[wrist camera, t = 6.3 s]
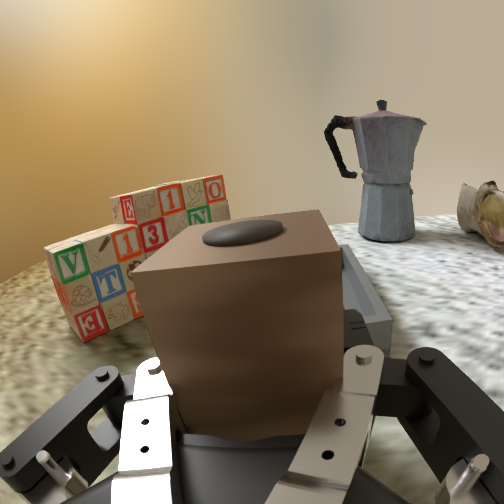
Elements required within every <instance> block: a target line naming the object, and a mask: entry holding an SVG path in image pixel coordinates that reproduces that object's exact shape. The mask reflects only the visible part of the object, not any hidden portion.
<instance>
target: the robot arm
mask: <svg viewBox="0 0 504 504" xmlns="http://www.w3.org/2000/svg"><path fill="white" fill-rule="evenodd" d="M343 317H344V367H343V377H338V378H336V379H335V381H334V384H333V387H332V389H331V390H329V389H327V390H326V391H325V392H324V395H323V397H322V399H321V402H320V404H319V406H318V408H317V411H316V413H315V415H314V417H313V420H312V422H311V424H310V426H309V428H308V431H307V433H306V434H301V435H285V436H274V437H269V438H265V439H260V440H255V441H250V442H244V443H240V442H235V441H231V440H227V439H223V438H219V437H215V436H210V435H194V434H193V432H192V430H191V428H190V426H186V425H185V423H184V421H183V419H182V416H181V414H180V412H179V410H178V407H177V395H176V392H175V390H174V387H173V385H172V384H168V383H167V381H166V378H165V375H164V373H163V370H162V368H161V365H160V362H159V360H158V357H157V358H152V359H149V360H146V361H145V362H143V363H142V364H141V365H140V366H139V367H138V369H137V373H134V374H128V375H120V373H119V371H118V369H117V368H116V367H114V366H102V367H99V368H97V369H95V370H94V371H92V372H91V373H90V374H89V375H88V376H86V377H85V378H84V379H83V380H82V381H81V382H80V383H78V384H77V385H76V386H75V387H74V388H73V389H72V390H70V391H69V392H68V393H67V394H66V395H65V396H64V397H62V398H61V399H60V400H59V401H58V402H57V403H56V404H54V405H53V406H52V407H51V408H50V409H49V410H48V411H47V412H45V413H44V414H43V415H42V416H41V417H40V418H39V419H37V420H36V421H35V422H34V423H33V424H32V425H31V426H30V427H28V428H27V429H26V430H25V431H24V432H23V433H22V434H21V435H20V436H18V437H17V438H16V439H15V440H14V441H13V442H12V443H11V444H9V445H8V446H7V447H6V448H5V449H4V450H3V451H2V452H1V453H0V477H1V478H2V479H3V480H4V481H5V482H6V483H7V484H8V485H9V486H10V487H11V489H12V490H13V491H14V492H15V493H16V494H18V495H19V496H20V497H21V498H22V499H23V500H24V501H25V502H27V503H28V504H410V503H409V502H407V501H406V500H404V499H403V498H402V497H400V496H399V495H397V494H396V493H395V492H393V491H392V490H390V489H389V488H388V487H386V486H385V485H384V484H382V483H381V482H380V481H378V480H377V479H376V478H374V477H373V476H372V475H370V474H369V473H368V472H366V471H365V470H364V469H362V468H363V465H364V461H365V457H366V453H367V449H368V445H369V442H370V438H371V434H372V430H373V426H374V422H375V418H376V416H388V417H397V419H398V421H399V422H400V424H401V425H402V427H403V428H404V429H405V431H406V432H407V434H408V435H409V437H410V438H411V440H412V441H413V443H414V444H415V446H416V447H417V449H418V450H419V452H420V453H421V455H422V456H423V458H424V459H425V461H426V462H427V464H428V465H429V467H430V468H431V470H432V471H433V473H434V474H435V476H436V477H437V479H438V480H439V482H440V483H441V484H440V486H439V487H438V489H437V491H436V494H435V503H436V504H504V411H503V410H502V409H501V408H500V407H499V406H498V405H497V404H496V403H495V402H494V401H493V400H492V399H490V398H489V397H488V396H487V395H486V394H485V393H484V392H483V391H482V390H481V389H480V388H479V387H478V386H477V385H476V384H475V383H474V382H473V381H472V380H471V379H470V378H469V377H468V376H467V375H466V374H465V373H464V372H462V371H461V370H460V369H459V368H458V367H457V366H456V365H455V364H454V363H453V362H452V361H451V360H450V359H449V358H447V357H446V356H445V355H444V354H443V353H442V352H441V351H439V350H437V349H435V348H430V347H422V348H417V349H415V350H413V351H412V352H410V353H409V355H408V357H407V360H404V359H391V358H387V357H384V354H383V352H382V351H381V350H380V349H379V348H377V347H375V346H374V344H373V341H372V338H371V336H370V333H369V331H368V328H367V326H366V323H365V321H364V318H363V316H362V314H361V313H360V312H358V311H357V310H356V309H348V310H345V308H344V305H343ZM101 408H103V410H104V412H105V413H106V415H107V417H106V418H105V420H104V421H103V422H102V423H101V424H100V425H99V426H98V427H97V428H96V429H95V430H94V431H93V432H92V433H91V434H90V433H89V432H88V429H87V424H88V421H89V420H90V419H91V418H92V417H93V416H94V415H95V414H96V413H97V412H98V411H99V410H100V409H101ZM119 452H120V460H119V471H118V472H116V473H114V474H113V475H111V476H109V477H107V478H106V479H104V480H102V481H100V482H99V483H97V484H95V485H93V486H91V487H90V485H91V484H92V483H93V482H94V481H95V480H96V479H97V477H98V476H99V475H100V474H101V473H102V472H103V470H104V469H105V468H106V467H107V466H108V465H109V464H110V462H111V461H112V460H113V459H114V458H115V457H116V455H117V454H118V453H119ZM89 487H90V488H89Z"/></svg>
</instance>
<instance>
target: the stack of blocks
mask: <svg viewBox="0 0 504 504" xmlns="http://www.w3.org/2000/svg"><path fill="white" fill-rule="evenodd" d="M109 199H110V204H111V209H112V214H113V219H114V224H112V225H109V226H106V227H103V228H100V229H97V230H94V231H90V232H87V233H84V234H81V235H78V236H75V237H72V238H69V239H67V240H64V241H61V242H58V243H55V244H52V245H49V246H47V247H44V251H45V254H46V258H47V262H48V266H49V269H50V272H51V276H52V279H53V283H54V286H55V289H56V292H57V294H58V297H59V300H60V302H61V305H62V307H63V310H64V313H65V315H66V318H67V320H68V323H69V325H70V326H71V327H72V329H73V330H74V331H75V332H76V334H77V336H78V337H79V338H80V339H81V340H82V341H83V342H87V341H89V340H91V339H93V338H95V337H97V336H99V335H101V334H103V333H105V332H107V331H109V330H113V329H115V328H117V327H119V326H122V325H124V324H126V323H128V322H130V321H132V320H133V319H136V318H138V317H141V316H143V313H142V310H141V307H140V304H139V300H138V297H137V294H136V290H135V287H134V284H133V280H132V277H131V272H132V271H133V270H134V269H135V268H137V267H138V266H139V265H140V264H141V263H143V262H144V261H145V260H146V259H148V258H149V257H150V256H151V255H153V254H154V253H155V252H156V251H158V250H159V249H160V248H161V247H163V246H164V245H165V244H166V243H168V242H169V241H170V240H171V239H173V238H174V237H175V236H177V235H178V234H179V233H180V232H182V231H183V230H184V229H186V228H187V227H188V226H191V225H198V224H205V223H212V222H220V221H227V220H231V219H230V212H229V206H228V200H227V199H226V194H225V187H224V180H223V175H215V176H208V177H202V178H196V179H191V180H180V181H175V182H170V183H164V184H160V185H155V186H154V187H151V188H147V189H143V190H139V191H135V192H131V193H127V194H123V195H119V196H115V197H111V198H109Z"/></svg>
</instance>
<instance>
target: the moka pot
mask: <svg viewBox="0 0 504 504" xmlns="http://www.w3.org/2000/svg"><path fill="white" fill-rule="evenodd" d="M377 106H378V109H379V111H377V112H374V113H370V114H367V115H364V116H360V117H342V116H334V118H333V119H332V120H331V123H329V124H328V126H327V128H326V129H325V131H324V134H325V139H326V141H327V143H328V144H329V147H330V149H331V151H332V153H333V156H334V159H335V161H336V163H337V166H338V168H339V171H340V173H341V176H342V177H345V178H356V177H357V173H356V172H349V171H347V169H346V166H345V164H344V163H343V161H342V156H341V153H340V151H339V148H338V146H337V142H336V140H335V137H334V136H333V131H334V129H335V128H337V127H339V128H343V129H352V130H353V133H354V137H355V143H356V147H357V152H358V158H359V164H360V168H362V170H363V171H364V173H362V178H363V181H364V185H363V192H362V202H361V211H360V219H359V227H358V233H359V234H360V235H361V236H363V237H366V238H369V239H372V240H378V241H404V240H408V239H411V238H412V237H413V236H414V233H415V224H414V213H413V203H412V194H413V190H412V189H411V187H410V184H409V183H410V181H411V174H410V172H411V170H412V169H413V162H414V151H415V148H416V146H417V143H418V140H419V137H420V134H421V131H422V129H423V126H424V125H426V122H424V121H423V120H421V119H420V118H415V117H409V116H404V115H400V114H396V113H392V112H388V111H386V106H387V102H386V101H384V100H379V101H377Z"/></svg>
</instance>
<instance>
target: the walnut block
mask: <svg viewBox="0 0 504 504" xmlns="http://www.w3.org/2000/svg"><path fill="white" fill-rule="evenodd" d="M131 277H132V280H133V284H134V287H135V290H136V294H137V297H138V300H139V304H140V307H141V310H142V313H143V316H144V319H145V322H146V326H147V328H148V331H149V334H150V337H151V340H152V343H153V346H154V349H155V351H156V354H157V357H158V360H159V362H160V365H161V368H162V370H163V373H164V375H165V378H166V381H167V383H168V384H172V385H173V387H174V390H175V392H176V395H177V407H178V410H179V412H180V414H181V416H182V419H183V421H184V423H185V425H186V426H190V428H191V430H192V432H193V434H194V435H210V436H215V437H219V438H223V439H227V440H231V441H235V442H240V443H244V442H250V441H255V440H260V439H265V438H269V437H274V436H285V435H301V434H306V433H307V431H308V428H309V426H310V424H311V422H312V420H313V417H314V415H315V413H316V411H317V408H318V406H319V404H320V402H321V399H322V397H323V395H324V392H325V391H326V390H327V389H329V390H331V389H332V387H333V384H334V381H335V379H336V378H338V377H343V367H344V317H343V283H342V263H341V250H340V248H339V246H338V244H337V242H336V240H335V239H334V237H333V235H332V233H331V231H330V229H329V227H328V226H327V224H326V222H325V220H324V218H323V217H322V215H321V213H320V211H319V210H310V211H301V212H293V213H283V214H275V215H266V216H258V217H251V218H242V219H235V220H227V221H220V222H212V223H205V224H198V225H191V226H188V227H187V228H186V229H184V230H183V231H182V232H180V233H179V234H178V235H177V236H175V237H174V238H173V239H171V240H170V241H169V242H168V243H166V244H165V245H164V246H163V247H161V248H160V249H159V250H158V251H156V252H155V253H154V254H153V255H151V256H150V257H149V258H148V259H146V260H145V261H144V262H143V263H141V264H140V265H139V266H138V267H137V268H135V269H134V270H133V271H132V272H131Z"/></svg>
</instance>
